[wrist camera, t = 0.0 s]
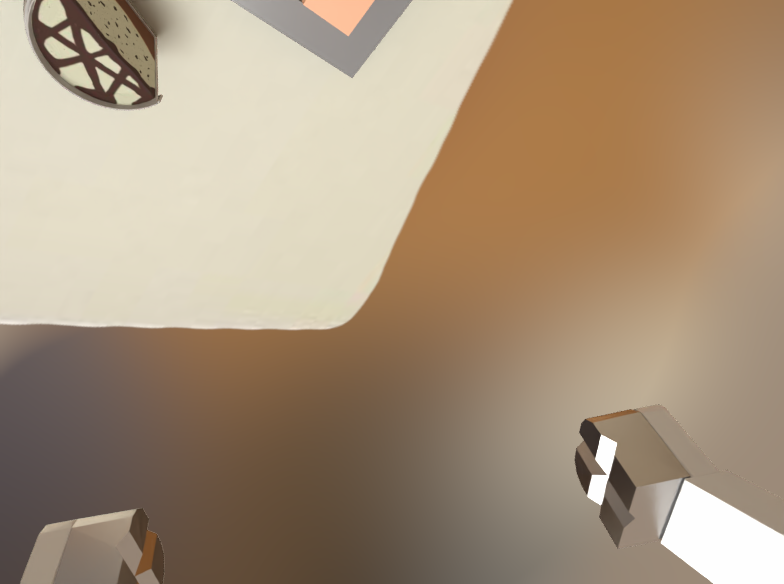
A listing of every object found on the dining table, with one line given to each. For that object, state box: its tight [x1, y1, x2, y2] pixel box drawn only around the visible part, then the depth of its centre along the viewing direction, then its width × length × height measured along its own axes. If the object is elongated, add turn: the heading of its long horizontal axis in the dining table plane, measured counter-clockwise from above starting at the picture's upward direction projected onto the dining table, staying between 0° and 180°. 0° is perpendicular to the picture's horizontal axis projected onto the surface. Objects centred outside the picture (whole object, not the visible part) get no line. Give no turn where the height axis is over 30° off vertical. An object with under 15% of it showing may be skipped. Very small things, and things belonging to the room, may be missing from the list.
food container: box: [23, 0, 163, 110], centre depth 47 cm, size 12×6×10 cm, turn 20°
